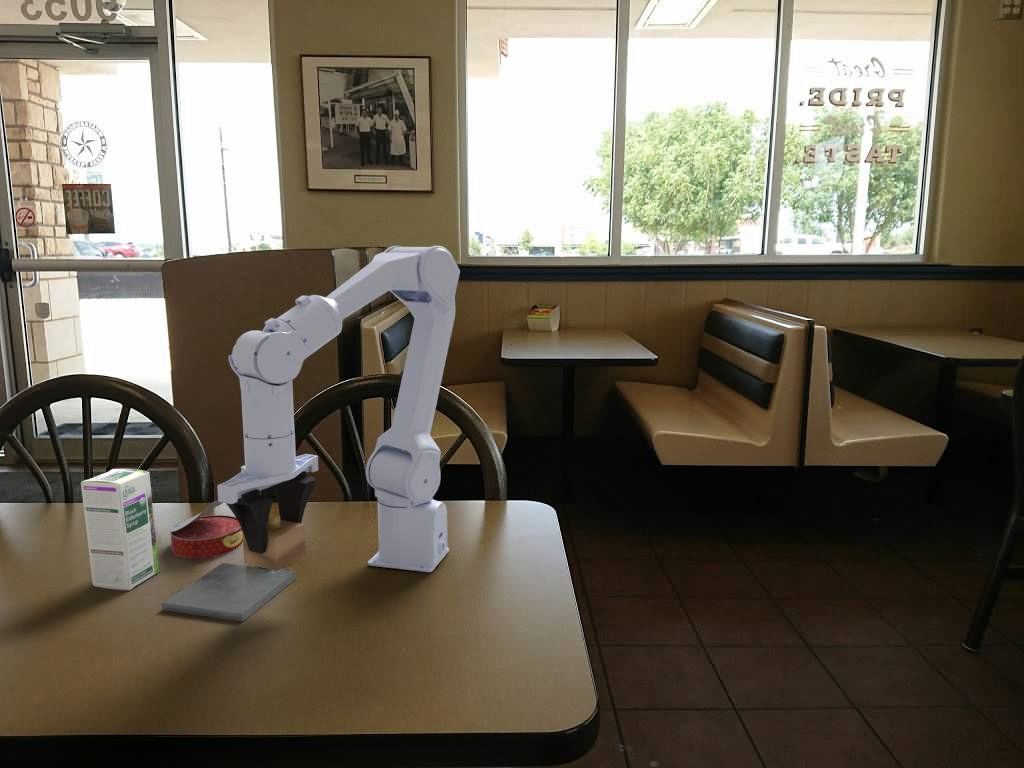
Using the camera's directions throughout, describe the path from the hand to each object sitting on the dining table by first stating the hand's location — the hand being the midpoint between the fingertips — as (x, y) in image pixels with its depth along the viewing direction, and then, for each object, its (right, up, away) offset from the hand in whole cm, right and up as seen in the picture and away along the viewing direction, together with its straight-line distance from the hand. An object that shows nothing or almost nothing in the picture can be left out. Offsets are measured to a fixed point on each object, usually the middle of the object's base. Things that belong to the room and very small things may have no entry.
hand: (274, 542), depth 88 cm
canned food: (-17, -5, +21) cm, 27 cm away
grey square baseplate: (-7, -8, +5) cm, 11 cm away
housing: (0, -2, 0) cm, 2 cm away
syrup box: (-23, -7, +9) cm, 25 cm away
